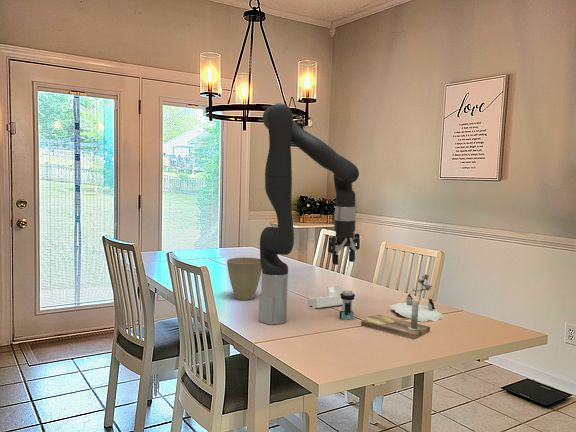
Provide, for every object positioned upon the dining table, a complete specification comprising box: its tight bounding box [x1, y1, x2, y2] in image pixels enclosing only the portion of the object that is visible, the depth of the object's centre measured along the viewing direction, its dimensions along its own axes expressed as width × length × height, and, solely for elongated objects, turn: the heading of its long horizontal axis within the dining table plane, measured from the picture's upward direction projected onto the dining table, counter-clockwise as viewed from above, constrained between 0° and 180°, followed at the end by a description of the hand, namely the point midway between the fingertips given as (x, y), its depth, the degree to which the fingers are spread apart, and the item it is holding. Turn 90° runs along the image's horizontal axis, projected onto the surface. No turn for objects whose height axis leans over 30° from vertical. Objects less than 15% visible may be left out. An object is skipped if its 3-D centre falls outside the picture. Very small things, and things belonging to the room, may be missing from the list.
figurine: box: [389, 273, 444, 323], centre depth 191 cm, size 20×18×16 cm
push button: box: [338, 290, 357, 321], centre depth 183 cm, size 7×5×10 cm
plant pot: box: [226, 256, 262, 301], centre depth 208 cm, size 15×15×16 cm
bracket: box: [306, 284, 344, 309], centre depth 201 cm, size 13×7×8 cm, turn 121°
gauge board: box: [360, 301, 431, 340], centre depth 173 cm, size 12×21×10 cm, turn 50°
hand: (343, 263), depth 182 cm, fingers open, 8 cm apart
